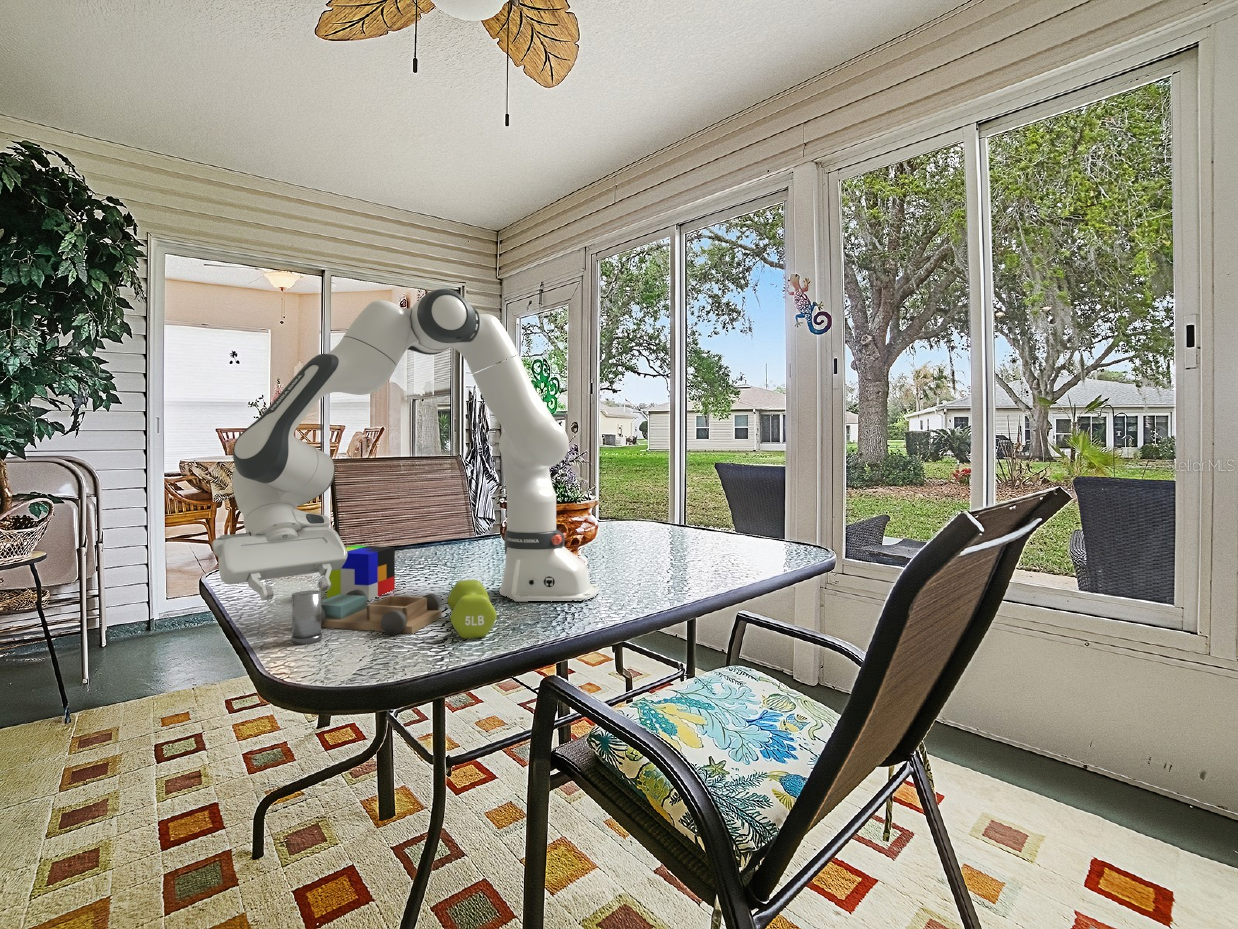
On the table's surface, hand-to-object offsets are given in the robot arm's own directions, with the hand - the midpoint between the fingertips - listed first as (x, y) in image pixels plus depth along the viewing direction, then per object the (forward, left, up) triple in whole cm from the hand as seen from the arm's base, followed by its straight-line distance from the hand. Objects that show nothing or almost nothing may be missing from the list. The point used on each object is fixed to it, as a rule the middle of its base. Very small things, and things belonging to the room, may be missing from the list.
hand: (297, 593), depth 106 cm
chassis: (-7, -11, -7) cm, 15 cm away
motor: (-3, +2, -7) cm, 8 cm away
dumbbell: (-26, -12, -8) cm, 30 cm away
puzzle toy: (+8, -30, -8) cm, 32 cm away
